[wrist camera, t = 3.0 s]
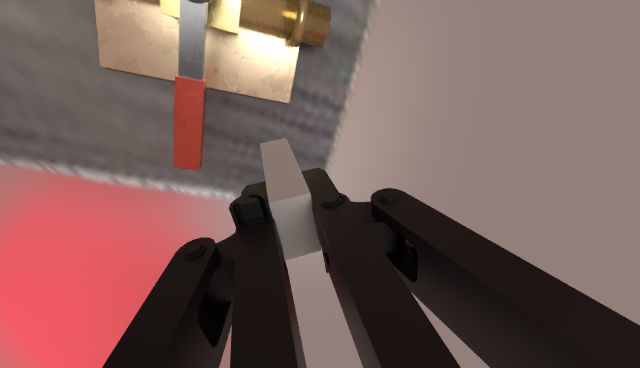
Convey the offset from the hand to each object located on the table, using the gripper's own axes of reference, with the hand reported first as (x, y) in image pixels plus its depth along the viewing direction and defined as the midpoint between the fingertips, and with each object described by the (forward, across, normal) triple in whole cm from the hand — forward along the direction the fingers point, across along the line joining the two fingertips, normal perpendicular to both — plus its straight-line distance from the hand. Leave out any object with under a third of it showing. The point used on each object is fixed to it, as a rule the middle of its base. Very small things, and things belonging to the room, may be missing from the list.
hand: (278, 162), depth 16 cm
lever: (+12, -5, +5) cm, 14 cm away
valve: (+22, -2, +11) cm, 25 cm away
